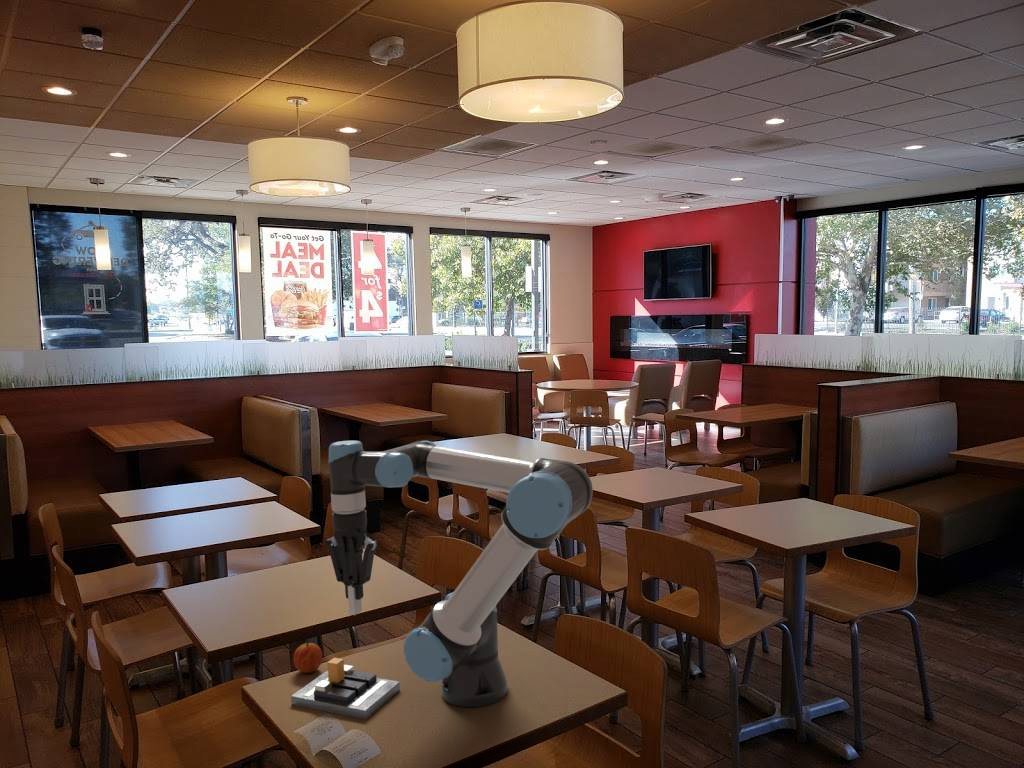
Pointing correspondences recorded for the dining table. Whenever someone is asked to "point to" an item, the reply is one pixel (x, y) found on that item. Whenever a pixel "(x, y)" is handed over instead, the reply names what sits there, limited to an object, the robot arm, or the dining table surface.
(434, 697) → the dining table surface
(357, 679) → the panel
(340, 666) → the block
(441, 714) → the dining table surface
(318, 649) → the fruit
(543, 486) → the robot arm
